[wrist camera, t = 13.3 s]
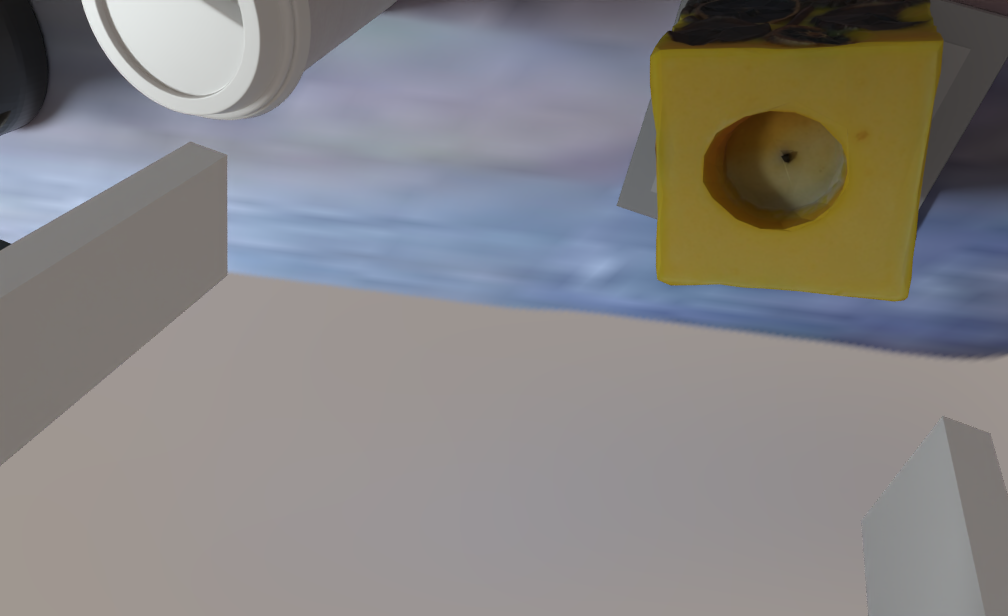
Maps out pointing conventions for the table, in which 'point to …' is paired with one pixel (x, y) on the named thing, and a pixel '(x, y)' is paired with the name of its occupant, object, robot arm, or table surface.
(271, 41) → the coffee cup
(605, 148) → the table surface
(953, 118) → the coaster
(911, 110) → the candle
